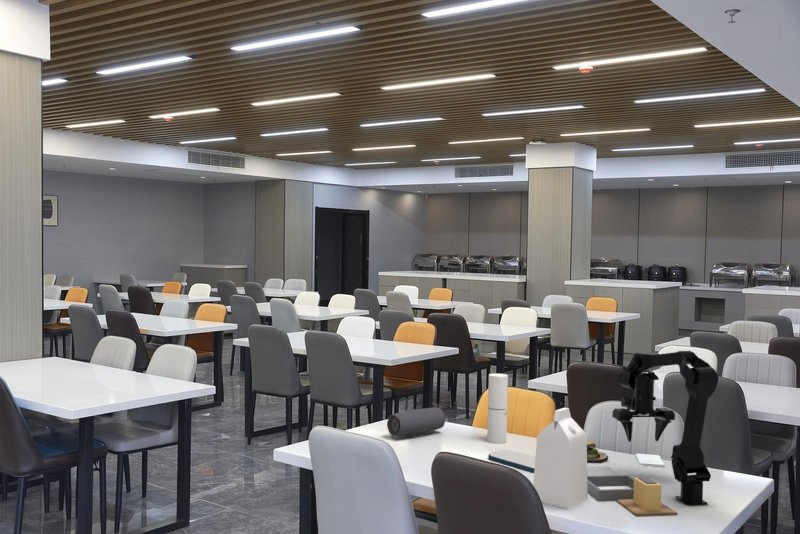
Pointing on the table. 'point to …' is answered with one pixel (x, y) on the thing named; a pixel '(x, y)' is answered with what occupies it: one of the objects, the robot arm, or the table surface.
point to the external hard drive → (514, 459)
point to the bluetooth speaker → (415, 422)
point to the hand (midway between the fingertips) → (643, 441)
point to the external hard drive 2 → (650, 460)
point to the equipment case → (608, 484)
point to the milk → (561, 462)
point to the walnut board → (641, 512)
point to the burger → (594, 453)
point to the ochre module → (647, 493)
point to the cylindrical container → (497, 408)
